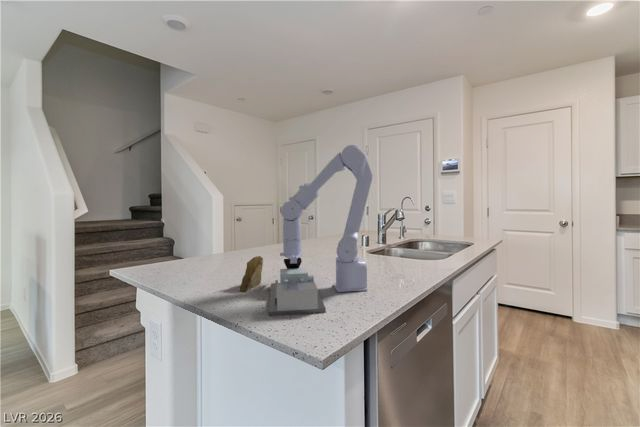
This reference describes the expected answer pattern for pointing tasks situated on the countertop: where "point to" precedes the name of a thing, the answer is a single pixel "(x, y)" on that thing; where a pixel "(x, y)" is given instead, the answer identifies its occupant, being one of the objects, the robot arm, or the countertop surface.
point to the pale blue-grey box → (295, 276)
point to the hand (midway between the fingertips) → (292, 281)
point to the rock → (252, 274)
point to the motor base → (295, 299)
